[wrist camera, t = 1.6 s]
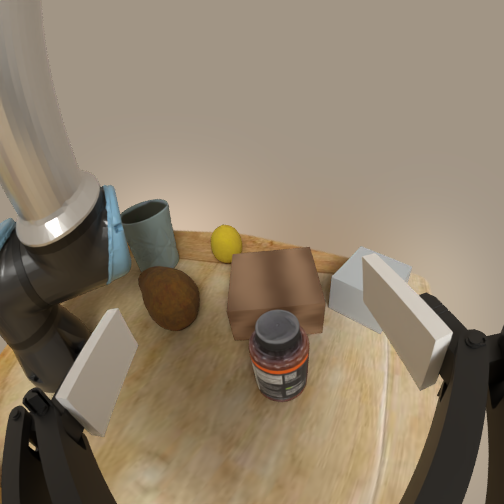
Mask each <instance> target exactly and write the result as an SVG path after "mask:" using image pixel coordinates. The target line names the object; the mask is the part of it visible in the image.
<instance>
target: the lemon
mask: <svg viewBox="0 0 504 504" xmlns="http://www.w3.org/2000/svg"><path fill="white" fill-rule="evenodd" d="M211 248H212V252H213V254H214V256H215V257H216V258H217V259H218V260H219V261H221V262H224V263H231V262H232V255H233V254H240V253H241V251H242V241H241V237H240V235H239V233H238V232H237V230H236V229H235V228H233V227H232V226H229V225H221V226H219V227H218V228H216V229H215V230H214V232H213V233H212V236H211Z"/></svg>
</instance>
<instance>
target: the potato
mask: <svg viewBox="0 0 504 504" xmlns="http://www.w3.org/2000/svg"><path fill="white" fill-rule="evenodd" d="M138 281H139V287H140V289H141V292H142V296H143V301H144V304H145V306H146V308H147V310H148V312H149V314H150V316H151V317H152V319H153V320H154V321H155V322H156V323H157V324H158V325H159V326H161V327H163V328H165V329H168V330H171V331H178V330H182V329H184V328H186V327H187V326H189V325H190V324H191V323H192V322H193V321H194V320H195V318H196V316H197V312H198V309H199V301H200V298H199V291H198V287H197V286H196V284H195V283H194V281H193V280H192V279H191V278H190V277H189V276H188V275H186V274H185V273H184V272H182V271H180V270H177V269H173V268H170V267H162V266H154V267H150V268H148V269H146V270H144V271H143V272H142V273H141V274H140V276H139V278H138Z"/></svg>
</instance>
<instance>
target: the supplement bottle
mask: <svg viewBox="0 0 504 504" xmlns="http://www.w3.org/2000/svg"><path fill="white" fill-rule="evenodd" d="M249 353H250V357H251V362H252V366H253V370H254V373H255V374H254V375H255V377H256V382H257V385H258V388H259V390H260V391H261V393H262V394H263V395H264V396H265V397H267V398H268V399H270V400H273V401H278V402H284V401H289V400H292V399H294V398H296V397H297V396H299V395H300V394H301V393H302V391H303V390H304V388H305V386H306V382H307V373H308V359H309V339H308V336H307V334H306V332H305V330H304V329H303V328H302V327H301V326H300V325H299V321H298V319H297V317H296V316H295V315H294V314H292V313H291V312H288V311H286V310H271V311H268V312H266V313H264V314H263V315H261V316H260V317H259V318H258V320H257V322H256V325H255V331H254V332H253V333H252V335H251V337H250V340H249Z"/></svg>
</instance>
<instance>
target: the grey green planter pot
mask: <svg viewBox="0 0 504 504" xmlns="http://www.w3.org/2000/svg"><path fill="white" fill-rule="evenodd" d="M120 216H121V221H122V226H123V229H124V233H125V237H126V241H127V242H128V245H129V246H130V249H131V251H132V254H133V255H134V258H135V259H136V262H137V264H138V266H139V268H140V270H141V272H143V271H144V270H146V269H148V268H150V267H154V266H162V267H170V268H174V267H175V266H176V265H177V263H178V261H179V255H178V251H177V249H176V242H175V238H174V234H173V229H172V224H171V218H170V211H169V205H168V203H167V201H165V200H161V199H155V200H148V201H145V202H141V203H139V204H136V205H134V206H132V207H130V208H128V209H126V210H125V211H124V212H122V213H121V214H120Z"/></svg>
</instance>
